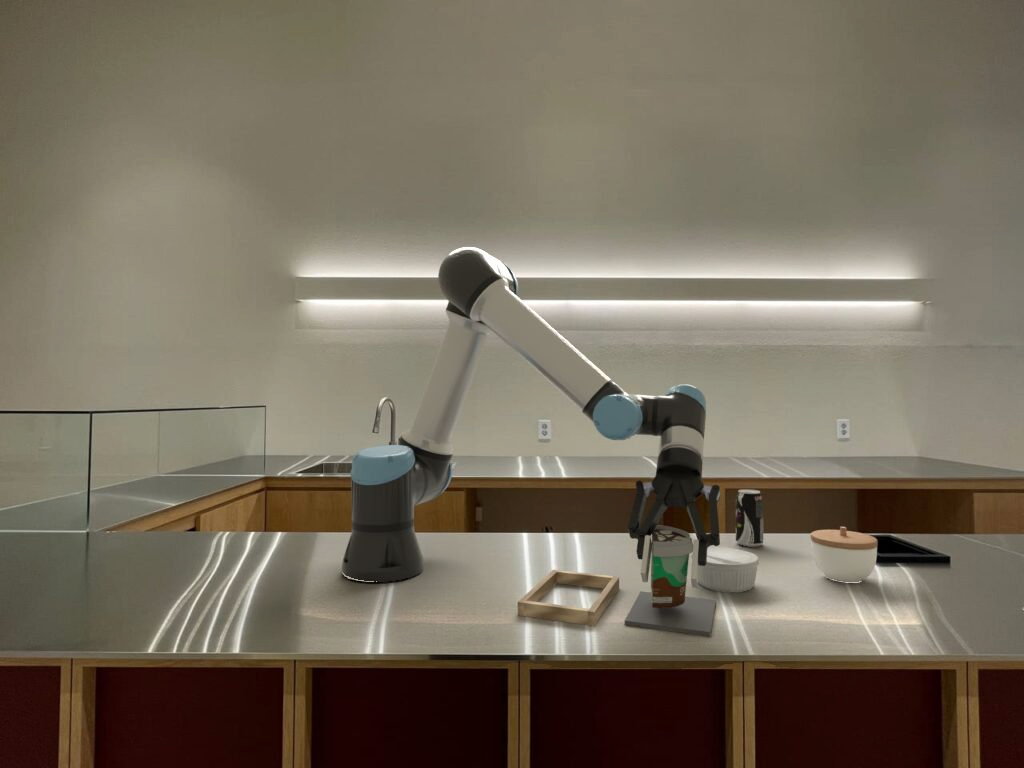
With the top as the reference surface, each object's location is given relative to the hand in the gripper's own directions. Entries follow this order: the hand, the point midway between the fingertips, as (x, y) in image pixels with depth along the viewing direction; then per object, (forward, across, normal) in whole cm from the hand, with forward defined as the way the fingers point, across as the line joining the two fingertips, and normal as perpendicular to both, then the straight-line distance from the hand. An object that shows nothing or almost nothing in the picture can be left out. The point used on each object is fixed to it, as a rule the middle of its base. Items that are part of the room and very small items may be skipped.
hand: (668, 580), depth 91 cm
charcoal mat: (+2, 0, -7) cm, 7 cm away
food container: (0, 0, -5) cm, 5 cm away
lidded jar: (-19, -27, -28) cm, 43 cm away
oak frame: (+2, +16, -7) cm, 17 cm away
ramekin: (-11, -7, -20) cm, 24 cm away
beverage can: (-33, -11, -42) cm, 54 cm away
